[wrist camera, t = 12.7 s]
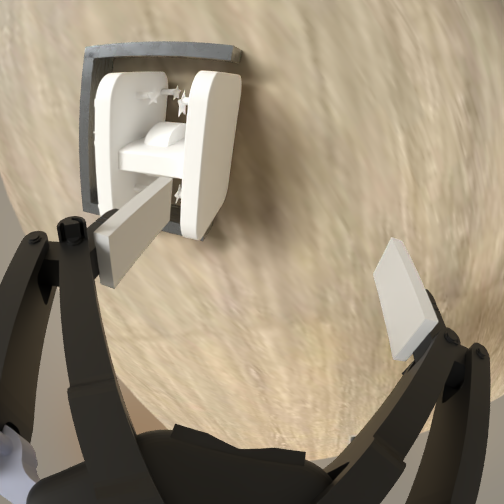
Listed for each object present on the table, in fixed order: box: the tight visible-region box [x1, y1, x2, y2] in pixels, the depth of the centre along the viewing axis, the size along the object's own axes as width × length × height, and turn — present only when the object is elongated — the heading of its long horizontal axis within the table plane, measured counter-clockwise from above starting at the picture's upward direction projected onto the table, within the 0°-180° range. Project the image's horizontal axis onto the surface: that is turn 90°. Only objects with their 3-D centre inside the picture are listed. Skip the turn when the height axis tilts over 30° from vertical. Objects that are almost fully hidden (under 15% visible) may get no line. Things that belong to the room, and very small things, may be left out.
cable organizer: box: [93, 71, 242, 240], centre depth 25 cm, size 15×11×12 cm
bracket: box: [79, 42, 242, 241], centre depth 29 cm, size 17×21×4 cm
